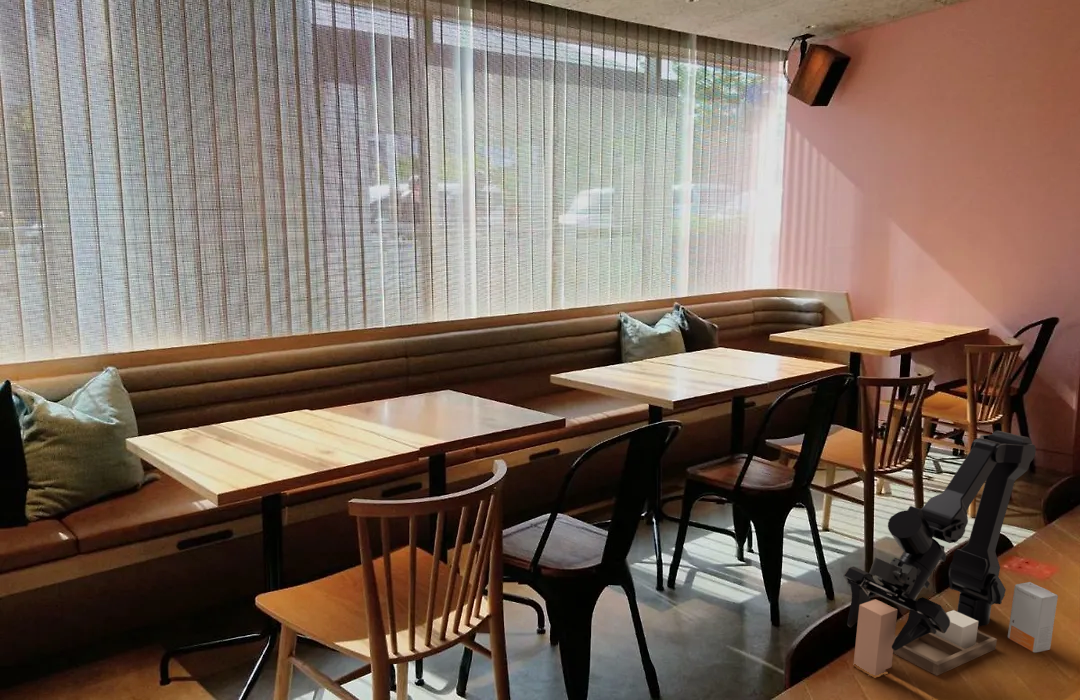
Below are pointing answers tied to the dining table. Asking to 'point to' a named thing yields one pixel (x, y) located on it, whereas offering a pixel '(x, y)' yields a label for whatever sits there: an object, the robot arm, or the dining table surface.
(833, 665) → the dining table surface
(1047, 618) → the skincare box
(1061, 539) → the dining table surface
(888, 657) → the terracotta peg
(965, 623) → the cream block
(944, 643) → the walnut slot tray
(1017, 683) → the dining table surface
